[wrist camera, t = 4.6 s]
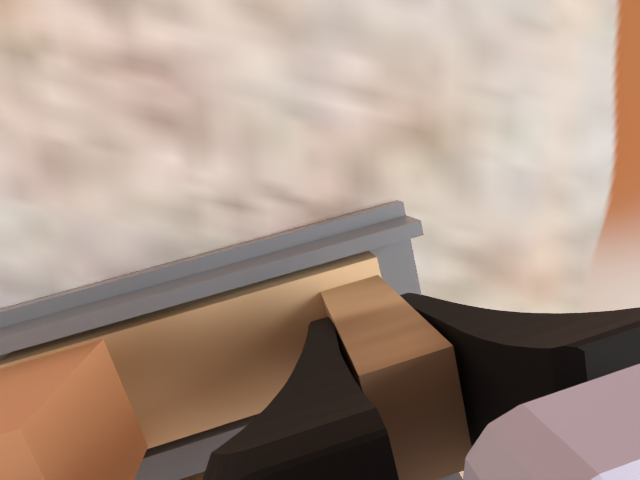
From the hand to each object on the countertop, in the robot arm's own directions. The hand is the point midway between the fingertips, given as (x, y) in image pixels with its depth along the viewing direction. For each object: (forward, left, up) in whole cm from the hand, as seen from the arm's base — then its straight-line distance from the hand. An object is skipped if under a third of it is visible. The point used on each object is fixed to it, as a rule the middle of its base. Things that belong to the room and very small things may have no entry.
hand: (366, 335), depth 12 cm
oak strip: (0, +5, -3) cm, 6 cm away
